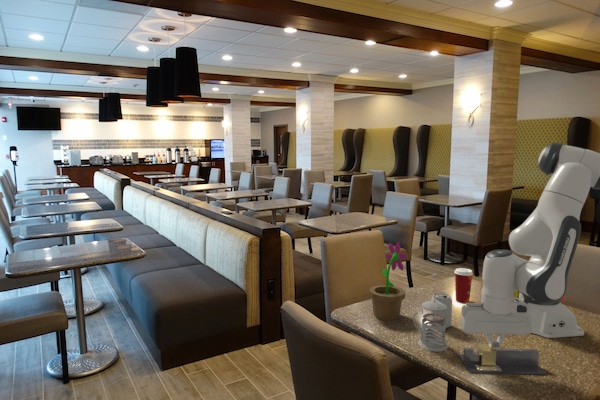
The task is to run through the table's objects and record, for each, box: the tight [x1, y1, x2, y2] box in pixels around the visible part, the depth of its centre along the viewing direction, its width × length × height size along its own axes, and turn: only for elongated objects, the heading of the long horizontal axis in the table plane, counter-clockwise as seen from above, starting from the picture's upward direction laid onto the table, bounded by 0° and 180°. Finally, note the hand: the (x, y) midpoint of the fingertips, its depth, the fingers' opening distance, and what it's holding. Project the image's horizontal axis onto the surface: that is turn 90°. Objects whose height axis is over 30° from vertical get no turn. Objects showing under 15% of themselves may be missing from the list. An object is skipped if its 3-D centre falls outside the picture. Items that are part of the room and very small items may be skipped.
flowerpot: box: [368, 241, 407, 321], centre depth 165 cm, size 14×14×30 cm
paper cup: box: [453, 267, 474, 304], centre depth 182 cm, size 8×8×14 cm
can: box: [430, 292, 453, 329], centre depth 156 cm, size 8×8×12 cm
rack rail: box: [458, 347, 546, 375], centre depth 127 cm, size 22×10×5 cm, turn 87°
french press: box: [412, 273, 449, 352], centre depth 140 cm, size 10×12×25 cm
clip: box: [476, 343, 496, 365], centre depth 128 cm, size 4×5×4 cm
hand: (494, 346), depth 127 cm, fingers closed
